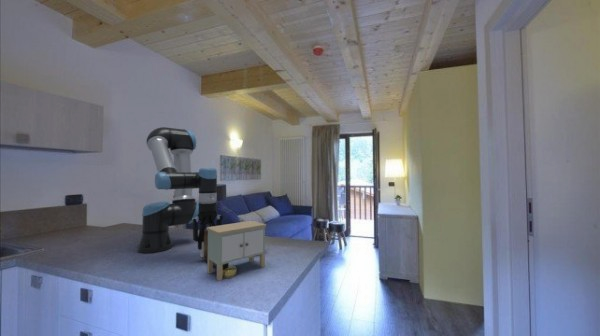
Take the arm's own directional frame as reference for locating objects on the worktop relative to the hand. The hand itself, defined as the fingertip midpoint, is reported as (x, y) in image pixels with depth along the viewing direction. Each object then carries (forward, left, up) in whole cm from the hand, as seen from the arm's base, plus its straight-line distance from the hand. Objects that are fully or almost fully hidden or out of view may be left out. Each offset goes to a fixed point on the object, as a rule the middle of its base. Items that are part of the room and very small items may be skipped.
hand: (207, 255), depth 107 cm
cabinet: (+18, +5, -2) cm, 19 cm away
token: (+20, 0, -2) cm, 21 cm away
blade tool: (+8, 0, -1) cm, 8 cm away
